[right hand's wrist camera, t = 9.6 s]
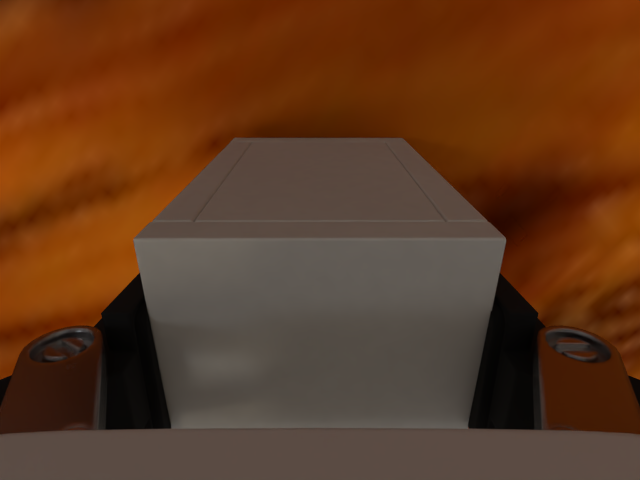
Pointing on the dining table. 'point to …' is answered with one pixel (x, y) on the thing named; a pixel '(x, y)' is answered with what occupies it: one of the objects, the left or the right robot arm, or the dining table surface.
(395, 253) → the cabinet
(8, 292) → the dining table surface
